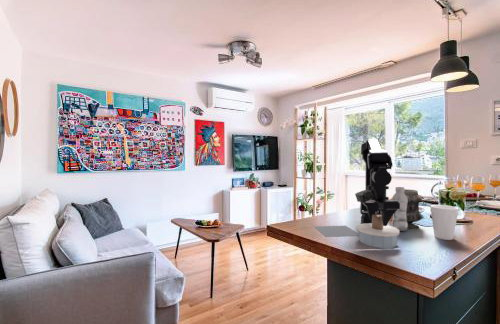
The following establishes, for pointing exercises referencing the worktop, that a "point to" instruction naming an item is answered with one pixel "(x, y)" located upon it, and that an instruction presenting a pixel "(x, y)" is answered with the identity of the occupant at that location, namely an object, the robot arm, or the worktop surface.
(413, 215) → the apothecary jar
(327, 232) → the mat
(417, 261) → the worktop surface
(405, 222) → the plastic bottle
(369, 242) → the dish
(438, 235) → the foam cup
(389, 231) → the lid
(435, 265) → the worktop surface
